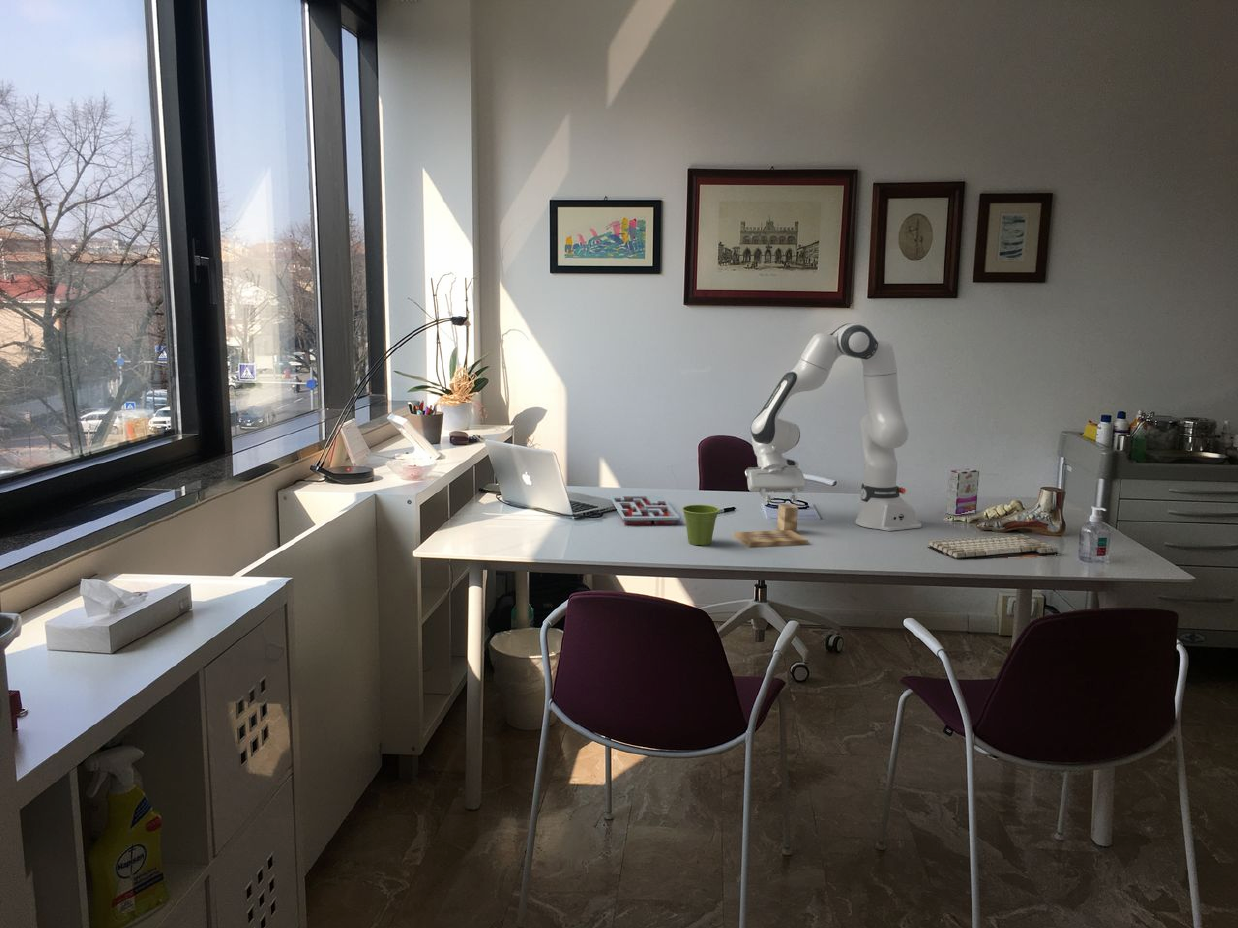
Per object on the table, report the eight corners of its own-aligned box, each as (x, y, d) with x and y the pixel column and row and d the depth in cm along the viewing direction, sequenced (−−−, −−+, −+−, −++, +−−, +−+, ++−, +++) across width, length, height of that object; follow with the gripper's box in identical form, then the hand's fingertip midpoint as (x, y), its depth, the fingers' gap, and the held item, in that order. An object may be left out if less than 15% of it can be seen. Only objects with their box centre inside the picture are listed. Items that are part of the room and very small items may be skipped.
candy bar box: (965, 510, 364) (969, 467, 361) (976, 513, 360) (980, 470, 357) (944, 513, 358) (948, 469, 355) (955, 516, 354) (959, 472, 351)
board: (790, 534, 322) (790, 529, 322) (807, 544, 310) (807, 539, 309) (734, 536, 317) (734, 532, 317) (749, 547, 304) (749, 542, 304)
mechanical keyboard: (961, 564, 293) (962, 553, 293) (923, 548, 311) (924, 538, 311) (1062, 557, 305) (1063, 546, 305) (1019, 542, 323) (1020, 532, 322)
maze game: (679, 526, 330) (680, 517, 329) (622, 527, 327) (623, 517, 327) (661, 503, 364) (662, 495, 363) (609, 503, 361) (610, 495, 361)
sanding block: (789, 530, 328) (791, 504, 326) (796, 534, 323) (798, 507, 321) (777, 530, 327) (778, 504, 325) (783, 534, 322) (785, 508, 320)
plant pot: (689, 536, 316) (690, 502, 314) (723, 541, 311) (725, 507, 308) (674, 544, 306) (675, 509, 303) (709, 550, 300) (710, 514, 298)
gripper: (746, 462, 330) (755, 496, 323) (801, 461, 335) (812, 495, 328) (740, 472, 335) (749, 506, 328) (795, 471, 340) (805, 505, 333)
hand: (781, 500), depth 328 cm, fingers open, 8 cm apart
